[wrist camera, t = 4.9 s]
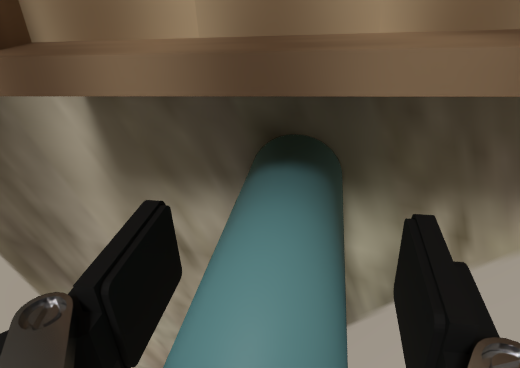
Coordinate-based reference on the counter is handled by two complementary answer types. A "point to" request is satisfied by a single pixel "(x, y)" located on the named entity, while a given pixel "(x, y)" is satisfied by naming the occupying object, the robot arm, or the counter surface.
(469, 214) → the counter surface
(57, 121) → the counter surface
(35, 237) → the counter surface
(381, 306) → the counter surface
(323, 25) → the box
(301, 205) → the peg
